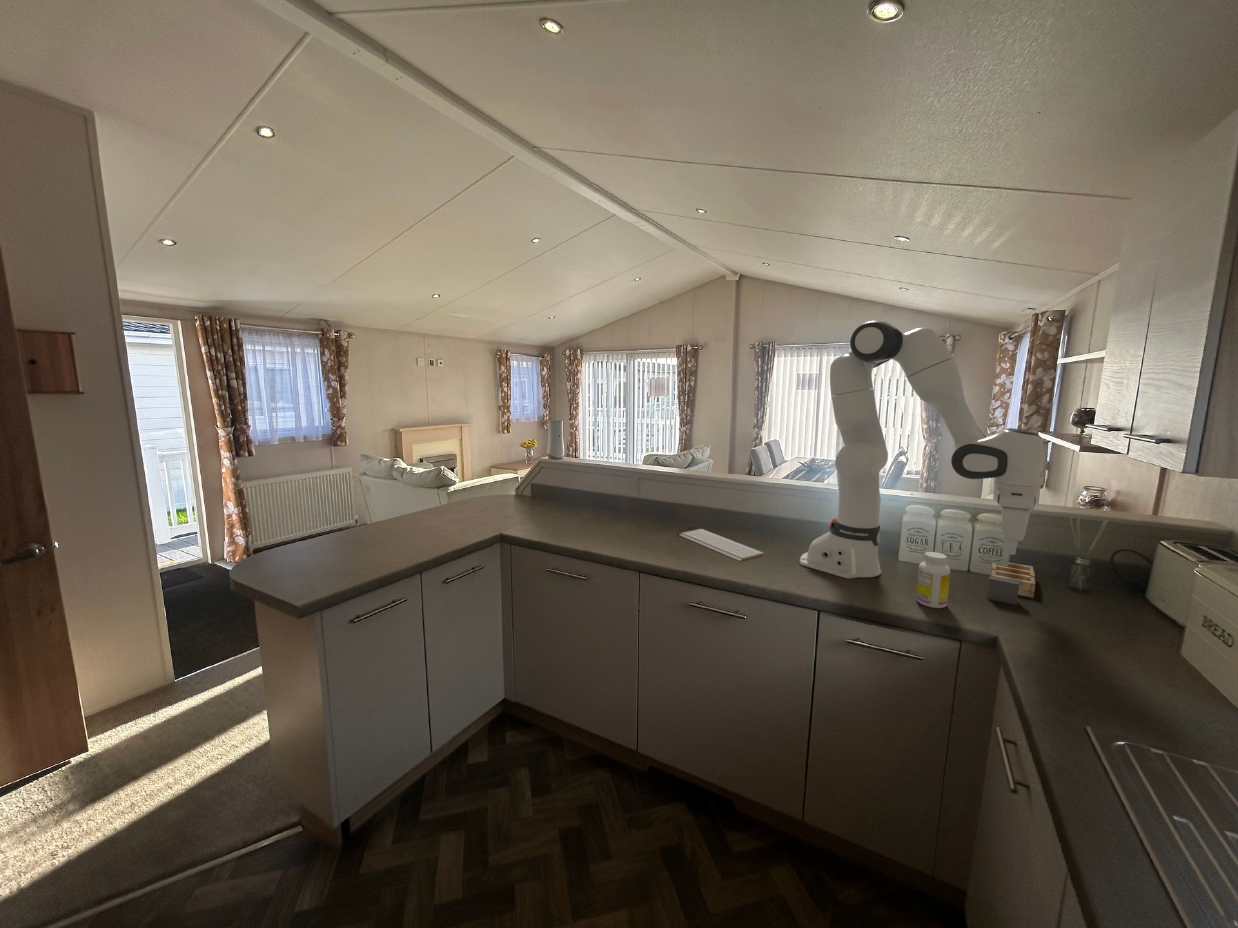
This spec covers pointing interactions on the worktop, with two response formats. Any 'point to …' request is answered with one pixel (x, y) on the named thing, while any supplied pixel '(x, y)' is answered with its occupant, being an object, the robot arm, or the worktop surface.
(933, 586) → the supplement bottle
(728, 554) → the white keyboard
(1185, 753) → the worktop surface
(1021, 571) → the box
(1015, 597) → the panel
